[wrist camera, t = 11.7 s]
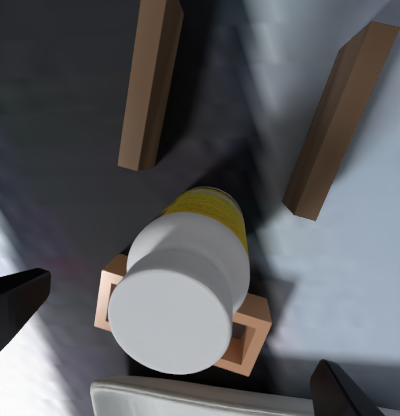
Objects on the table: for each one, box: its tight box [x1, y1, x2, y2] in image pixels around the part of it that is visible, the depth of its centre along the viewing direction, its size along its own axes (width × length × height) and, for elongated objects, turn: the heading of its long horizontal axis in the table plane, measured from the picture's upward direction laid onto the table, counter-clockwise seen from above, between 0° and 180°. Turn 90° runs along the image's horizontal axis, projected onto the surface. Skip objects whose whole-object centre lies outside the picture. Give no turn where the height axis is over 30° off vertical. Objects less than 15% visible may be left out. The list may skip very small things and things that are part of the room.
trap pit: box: [94, 254, 272, 377], centre depth 17 cm, size 12×5×2 cm, turn 76°
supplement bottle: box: [108, 187, 250, 374], centre depth 11 cm, size 5×5×10 cm
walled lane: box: [118, 0, 400, 221], centre depth 13 cm, size 11×9×3 cm
